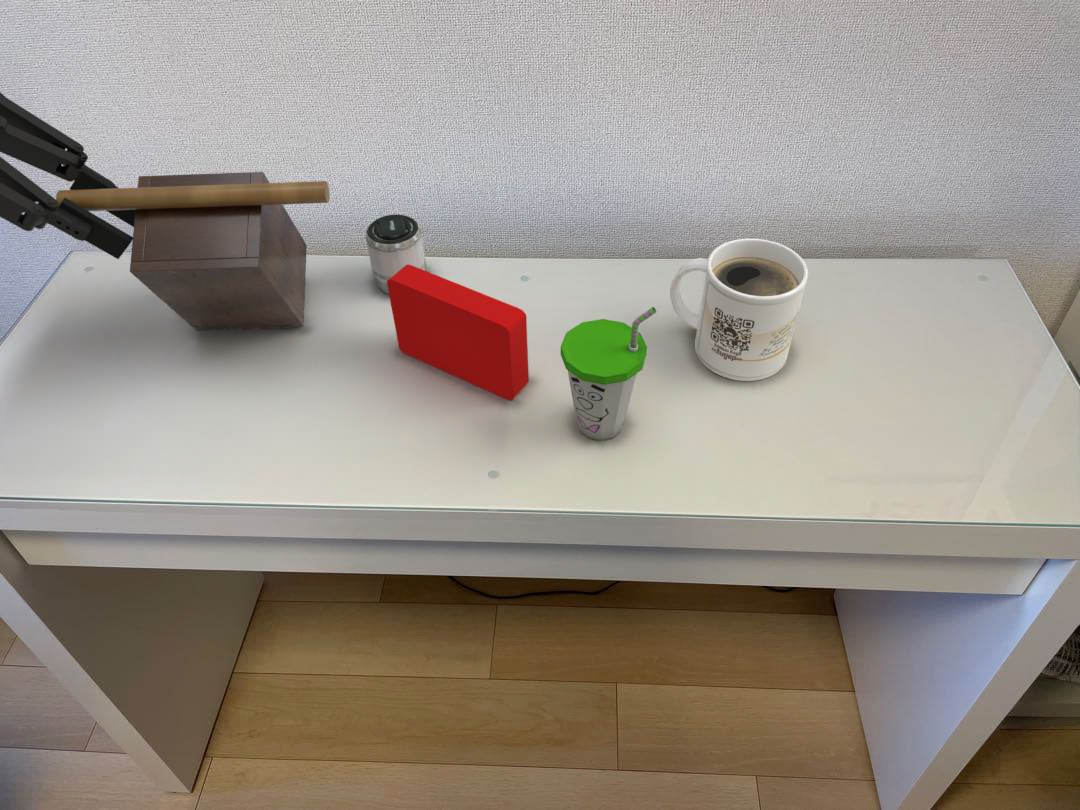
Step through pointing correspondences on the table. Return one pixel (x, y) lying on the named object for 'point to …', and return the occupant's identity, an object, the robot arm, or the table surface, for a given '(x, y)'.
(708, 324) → the mug
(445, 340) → the red rounded slab
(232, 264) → the divided box with dowel
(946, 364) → the table surface
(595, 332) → the cup
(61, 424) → the table surface
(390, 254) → the camera lens
